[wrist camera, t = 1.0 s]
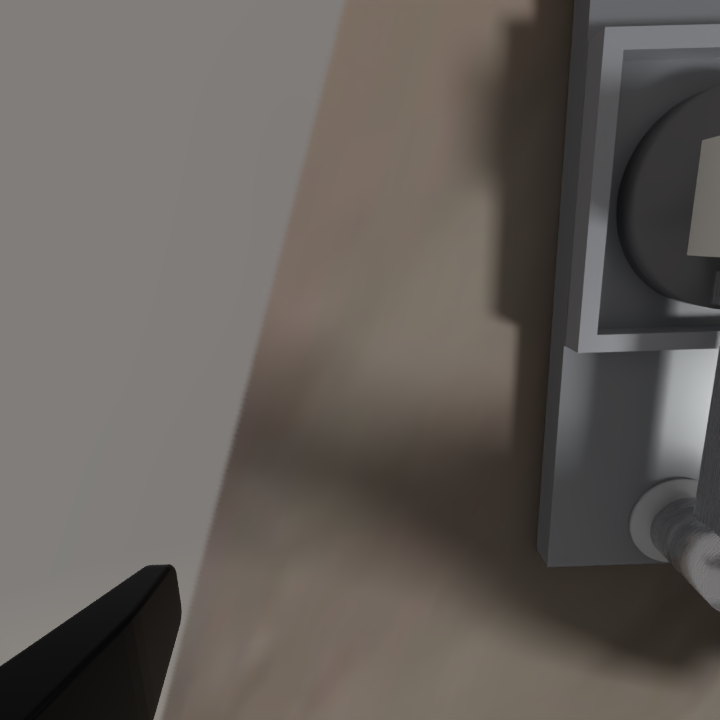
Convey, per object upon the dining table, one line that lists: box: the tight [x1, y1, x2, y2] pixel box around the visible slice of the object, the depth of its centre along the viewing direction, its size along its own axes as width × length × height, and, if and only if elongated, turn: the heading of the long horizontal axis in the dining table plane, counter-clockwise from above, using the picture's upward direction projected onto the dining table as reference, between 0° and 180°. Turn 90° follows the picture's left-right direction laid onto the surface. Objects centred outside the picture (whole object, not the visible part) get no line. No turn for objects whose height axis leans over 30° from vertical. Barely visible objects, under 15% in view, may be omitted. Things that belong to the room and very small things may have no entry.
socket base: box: [536, 0, 720, 567], centre depth 17 cm, size 10×25×2 cm, turn 2°
